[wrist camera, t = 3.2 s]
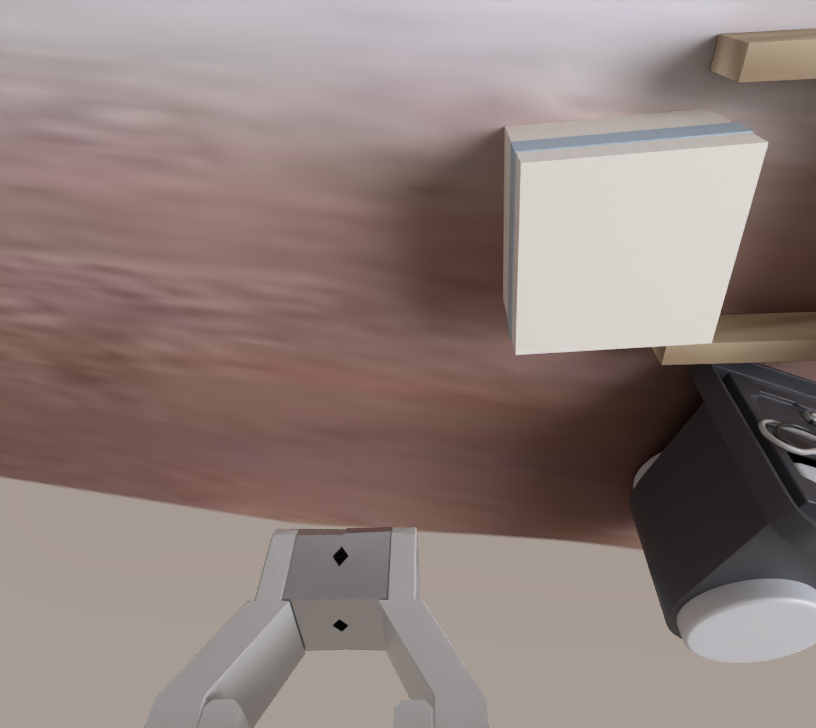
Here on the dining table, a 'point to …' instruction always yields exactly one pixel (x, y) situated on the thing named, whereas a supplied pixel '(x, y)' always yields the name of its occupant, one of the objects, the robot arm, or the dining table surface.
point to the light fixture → (736, 516)
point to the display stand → (765, 331)
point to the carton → (623, 228)
